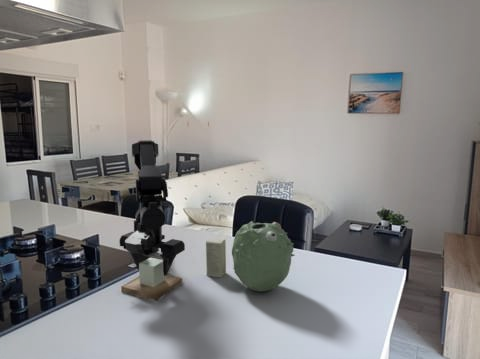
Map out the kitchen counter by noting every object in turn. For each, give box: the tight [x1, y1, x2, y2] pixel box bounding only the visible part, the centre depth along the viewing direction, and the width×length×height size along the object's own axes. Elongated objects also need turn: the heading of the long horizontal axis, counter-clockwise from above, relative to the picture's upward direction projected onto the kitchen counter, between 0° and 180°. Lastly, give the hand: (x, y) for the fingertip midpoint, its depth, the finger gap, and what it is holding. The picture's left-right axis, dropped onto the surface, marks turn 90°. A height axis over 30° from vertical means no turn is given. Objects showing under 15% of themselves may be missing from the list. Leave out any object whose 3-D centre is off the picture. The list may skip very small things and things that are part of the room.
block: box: [138, 257, 165, 287], centre depth 103 cm, size 5×5×6 cm
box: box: [205, 237, 227, 278], centre depth 112 cm, size 5×4×11 cm
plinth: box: [120, 274, 183, 302], centre depth 103 cm, size 12×12×2 cm
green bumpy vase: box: [231, 220, 296, 293], centre depth 102 cm, size 16×19×20 cm
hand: (152, 272), depth 103 cm, fingers open, 9 cm apart
